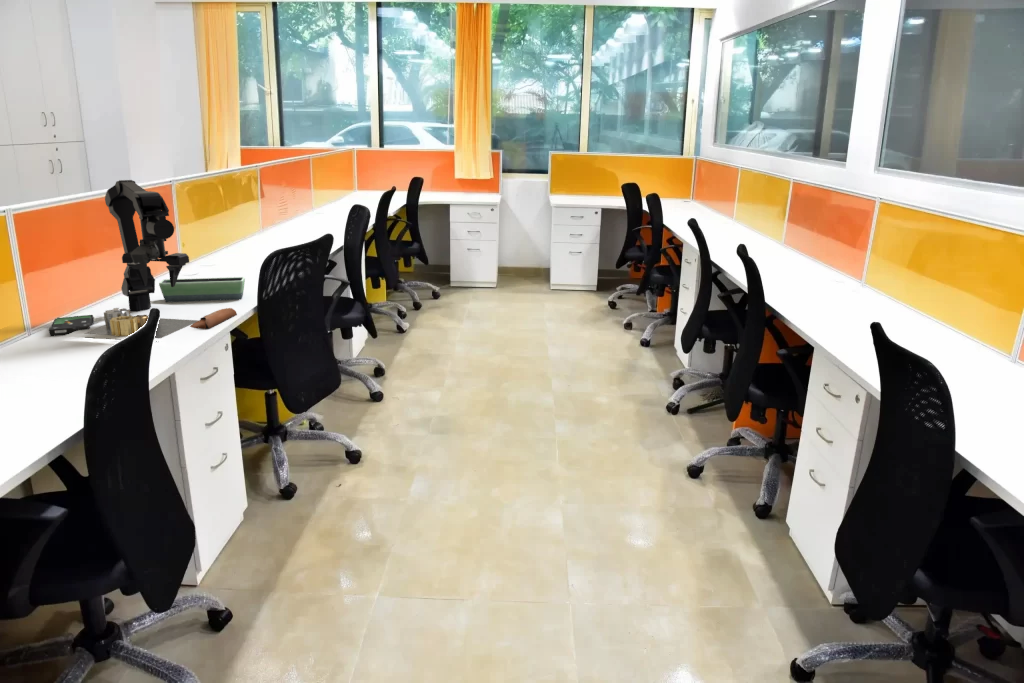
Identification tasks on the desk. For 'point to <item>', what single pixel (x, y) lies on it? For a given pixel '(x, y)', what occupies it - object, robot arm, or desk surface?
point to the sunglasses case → (214, 318)
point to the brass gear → (123, 325)
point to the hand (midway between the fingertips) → (159, 286)
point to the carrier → (142, 323)
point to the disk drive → (70, 325)
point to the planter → (203, 289)
